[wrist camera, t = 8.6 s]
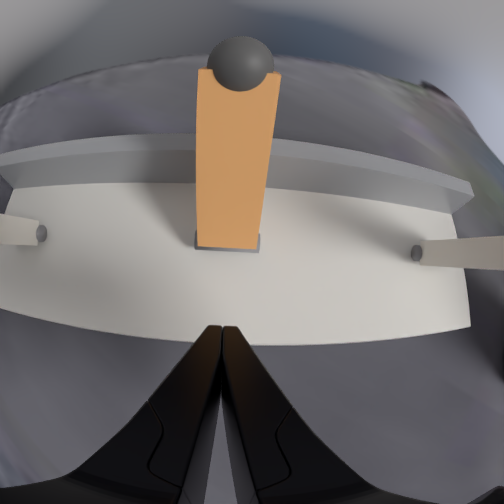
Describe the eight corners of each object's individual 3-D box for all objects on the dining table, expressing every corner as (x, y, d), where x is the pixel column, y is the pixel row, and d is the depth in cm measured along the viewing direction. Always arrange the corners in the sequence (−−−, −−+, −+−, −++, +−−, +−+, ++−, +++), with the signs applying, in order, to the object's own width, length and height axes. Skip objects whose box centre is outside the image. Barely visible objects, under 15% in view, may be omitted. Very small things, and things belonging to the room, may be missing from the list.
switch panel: (448, 331, 16) (500, 318, 11) (4, 309, 13) (-45, 291, 8) (430, 214, 20) (469, 182, 15) (33, 191, 17) (0, 153, 12)
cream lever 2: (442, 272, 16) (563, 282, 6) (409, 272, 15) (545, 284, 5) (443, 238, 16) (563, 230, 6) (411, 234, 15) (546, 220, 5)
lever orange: (259, 267, 13) (294, 40, 7) (193, 263, 13) (192, 33, 6) (256, 235, 15) (284, 42, 8) (198, 232, 15) (203, 36, 8)
